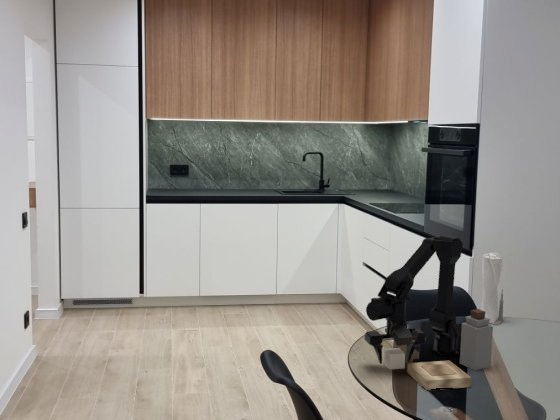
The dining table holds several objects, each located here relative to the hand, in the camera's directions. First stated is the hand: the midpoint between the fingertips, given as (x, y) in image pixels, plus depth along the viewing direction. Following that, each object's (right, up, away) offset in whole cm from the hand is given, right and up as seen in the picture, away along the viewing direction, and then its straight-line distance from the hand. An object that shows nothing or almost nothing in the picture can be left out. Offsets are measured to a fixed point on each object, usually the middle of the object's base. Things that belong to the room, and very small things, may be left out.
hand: (394, 362), depth 216 cm
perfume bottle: (+26, -1, +2) cm, 26 cm away
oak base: (+12, -3, -11) cm, 16 cm away
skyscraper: (+45, +5, +47) cm, 65 cm away
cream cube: (0, -1, 0) cm, 1 cm away
